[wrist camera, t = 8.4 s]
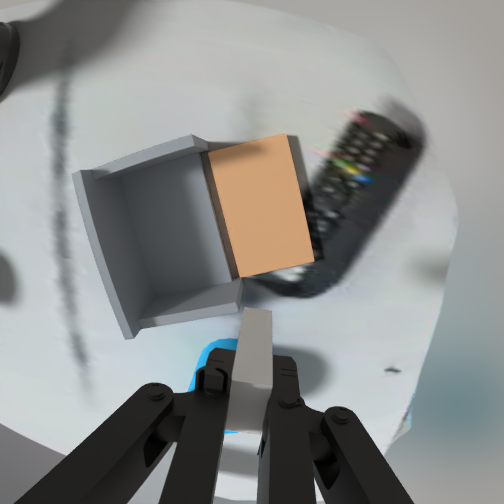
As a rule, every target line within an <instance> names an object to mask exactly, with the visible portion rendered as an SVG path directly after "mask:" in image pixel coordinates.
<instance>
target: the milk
mask: <svg viewBox="0 0 504 504" xmlns="http://www.w3.org/2000/svg"><path fill="white" fill-rule="evenodd" d="M176 446H177V443H175V442H174V443H173V445H172V446H171V448H170V449H169V450H168V452H167V453H166V454H165V456H164V457H163V458H162V460H161V461H160V462H159V464H158V465H157V466H156V467H155V469H154V470H153V471H152V473H151V474H150V475H149V477H148V478H147V479H146V481H145V482H144V483H143V484H142V486H141V487H140V488H139V489H138V491H137V492H136V493H135V495H134V496H133V497H132V498H131V500H130V501H129V502H128V503H127V504H158V503H159V499H160V496H161V493H162V490H163V487H164V483H165V480H166V477H167V474H168V471H169V468H170V464H171V461H172V458H173V455H174V452H175V449H176Z"/></svg>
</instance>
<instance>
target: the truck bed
mask: <svg viewBox="0 0 504 504" xmlns="http://www.w3.org/2000/svg"><path fill="white" fill-rule="evenodd" d="M205 151H209V147H208V143H207V141H205V140H203V139H201V138H199V137H196V136H194V135H192V134H191V135H188V136H185V137H181V138H178V139H175V140H172V141H169V142H166V143H163V144H160V145H157V146H154V147H151V148H148V149H145V150H142V151H139V152H136V153H133V154H131V155H128V156H125V157H123V158H120V159H117V160H115V161H112V162H109V163H107V164H104V165H102V166H99V167H97V168H94V169H92V170H80V171H77V172H75V173H73V174H72V178H73V182H74V187H75V191H76V195H77V199H78V203H79V207H80V210H81V214H82V218H83V221H84V225H85V228H86V232H87V235H88V239H89V242H90V245H91V248H92V252H93V255H94V258H95V261H96V264H97V267H98V270H99V273H100V276H101V279H102V281H103V284H104V287H105V290H106V293H107V295H108V298H109V301H110V303H111V306H112V308H113V311H114V314H115V316H116V319H117V321H118V324H119V326H120V328H121V331H122V333H123V336H124V338H125V340H127V339H134V338H135V336H136V335H137V334H138V332H139V331H140V330H141V329H144V328H150V327H157V326H163V325H169V324H175V323H181V322H187V321H193V320H198V319H204V318H209V317H215V316H220V315H226V314H231V313H236V312H239V307H240V302H241V297H242V292H243V287H244V284H243V280H242V277H241V278H240V277H238V278H233V277H232V274H231V270H230V266H229V263H228V259H227V255H226V251H225V248H224V244H223V240H222V236H221V233H220V229H219V225H218V221H217V217H216V214H215V210H214V206H213V202H212V198H211V194H210V190H209V186H208V182H207V179H206V175H205V171H204V167H203V163H202V159H201V155H200V153H202V152H205Z"/></svg>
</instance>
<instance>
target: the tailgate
mask: <svg viewBox="0 0 504 504" xmlns="http://www.w3.org/2000/svg"><path fill="white" fill-rule="evenodd" d="M208 155H209V159H210V163H211V167H212V171H213V175H214V179H215V183H216V187H217V191H218V195H219V199H220V203H221V207H222V210H223V214H224V218H225V222H226V226H227V230H228V234H229V237H230V241H231V245H232V249H233V253H234V257H235V260H236V264H237V268H238V272H239V275H240V278H241V277H246V276H251V275H255V274H260V273H265V272H269V271H274V270H278V269H283V268H287V267H292V266H296V265H301V264H305V263H310V262H314V256H313V251H312V246H311V241H310V236H309V231H308V226H307V222H306V217H305V212H304V208H303V203H302V198H301V194H300V189H299V185H298V181H297V176H296V172H295V168H294V164H293V159H292V155H291V151H290V147H289V143H288V139H287V135H286V134H282V135H277V136H273V137H268V138H264V139H259V140H255V141H251V142H247V143H243V144H239V145H235V146H231V147H227V148H223V149H219V150H215V151H212V152H208Z"/></svg>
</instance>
